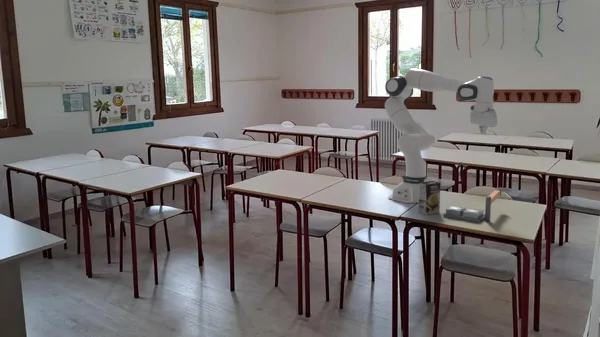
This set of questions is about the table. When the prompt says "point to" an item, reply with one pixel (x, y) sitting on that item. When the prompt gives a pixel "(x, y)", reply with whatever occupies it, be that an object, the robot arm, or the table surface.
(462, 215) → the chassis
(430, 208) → the coffee box
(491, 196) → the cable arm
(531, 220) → the table surface
